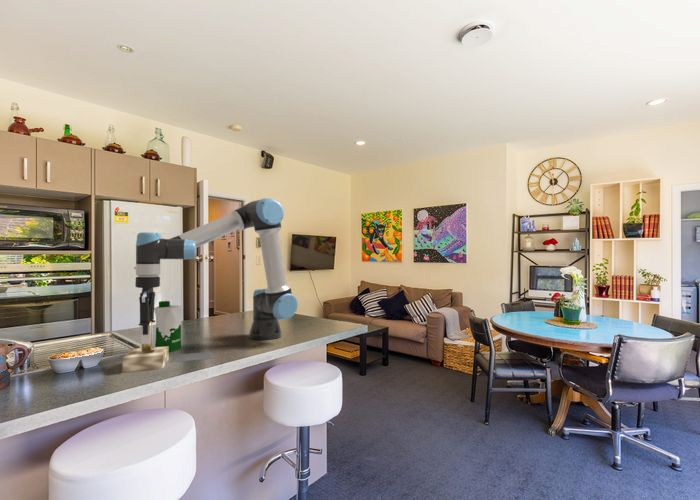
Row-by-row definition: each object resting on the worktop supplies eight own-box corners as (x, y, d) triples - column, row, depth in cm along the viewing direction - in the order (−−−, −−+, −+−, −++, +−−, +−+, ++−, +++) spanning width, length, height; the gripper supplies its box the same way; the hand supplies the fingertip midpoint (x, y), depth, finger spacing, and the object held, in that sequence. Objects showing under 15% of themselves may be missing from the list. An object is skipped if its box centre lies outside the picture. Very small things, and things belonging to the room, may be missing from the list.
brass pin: (152, 348, 127) (152, 320, 127) (150, 351, 124) (151, 322, 124) (142, 349, 126) (143, 321, 126) (140, 351, 123) (141, 322, 123)
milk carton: (166, 347, 150) (166, 300, 150) (185, 348, 148) (185, 300, 149) (150, 352, 142) (151, 302, 142) (170, 354, 140) (171, 303, 140)
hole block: (168, 359, 133) (168, 346, 133) (162, 369, 121) (162, 355, 121) (131, 362, 129) (132, 348, 129) (122, 373, 117) (122, 358, 118)
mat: (212, 352, 142) (212, 351, 142) (210, 359, 133) (210, 358, 133) (173, 355, 138) (173, 354, 138) (169, 363, 128) (169, 362, 128)
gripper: (141, 274, 132) (140, 338, 131) (129, 277, 117) (128, 348, 116) (163, 274, 134) (162, 337, 134) (155, 277, 119) (154, 347, 119)
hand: (146, 342), depth 125 cm, fingers closed on brass pin, 2 cm apart
